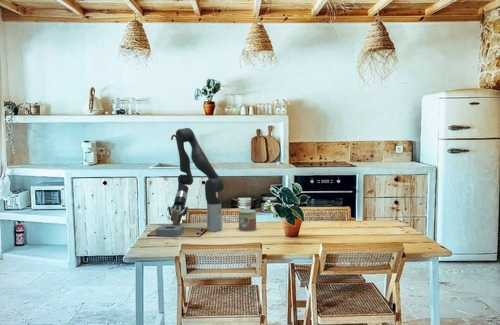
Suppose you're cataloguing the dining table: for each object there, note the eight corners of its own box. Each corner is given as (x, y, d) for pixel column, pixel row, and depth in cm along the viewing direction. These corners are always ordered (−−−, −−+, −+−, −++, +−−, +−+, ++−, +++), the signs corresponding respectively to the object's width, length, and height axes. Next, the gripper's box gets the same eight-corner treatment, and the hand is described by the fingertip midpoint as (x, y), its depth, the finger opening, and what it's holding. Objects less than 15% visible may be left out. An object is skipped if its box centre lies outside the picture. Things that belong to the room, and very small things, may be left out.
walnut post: (180, 226, 290) (180, 209, 289) (178, 227, 286) (178, 210, 285) (174, 226, 290) (174, 209, 290) (172, 227, 287) (172, 210, 286)
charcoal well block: (183, 231, 281) (183, 225, 281) (177, 236, 269) (177, 230, 269) (162, 231, 284) (162, 225, 283) (155, 235, 272) (155, 229, 271)
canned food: (236, 230, 284) (235, 212, 283) (242, 226, 294) (242, 208, 293) (252, 231, 280) (252, 213, 279) (258, 228, 290) (258, 209, 289)
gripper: (169, 195, 295) (163, 217, 284) (189, 195, 293) (184, 217, 282) (172, 202, 301) (166, 223, 290) (192, 202, 298) (187, 224, 287)
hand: (175, 220), depth 286 cm, fingers closed on walnut post, 4 cm apart
